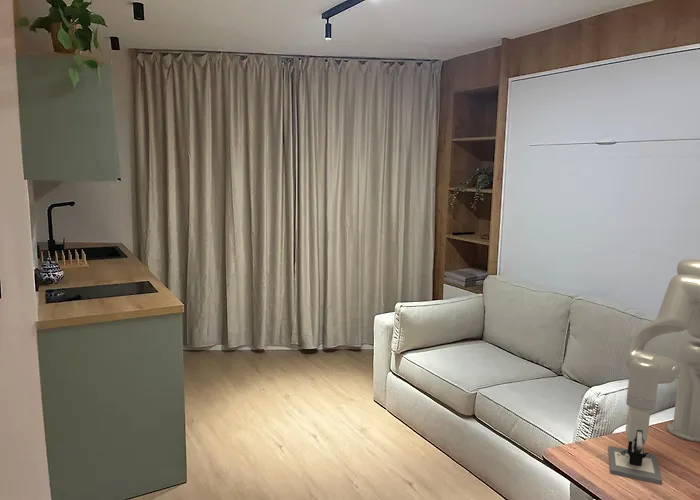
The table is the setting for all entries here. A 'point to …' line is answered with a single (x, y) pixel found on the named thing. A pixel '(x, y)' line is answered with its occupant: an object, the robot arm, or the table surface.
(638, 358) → the robot arm
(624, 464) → the grey picture mat
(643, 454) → the creature
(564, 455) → the table surface
